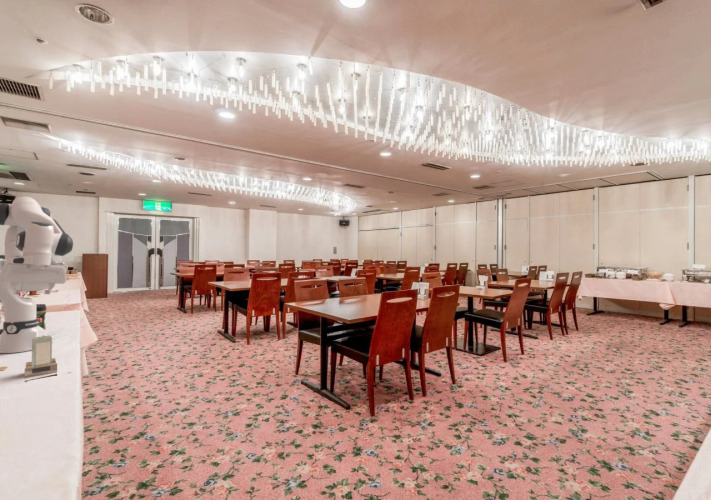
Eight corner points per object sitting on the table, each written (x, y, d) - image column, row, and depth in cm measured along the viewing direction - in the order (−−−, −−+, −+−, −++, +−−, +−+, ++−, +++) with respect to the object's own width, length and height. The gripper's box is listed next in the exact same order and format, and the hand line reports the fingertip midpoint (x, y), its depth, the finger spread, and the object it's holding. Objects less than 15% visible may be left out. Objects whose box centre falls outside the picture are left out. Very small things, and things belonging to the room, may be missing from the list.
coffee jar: (20, 340, 182) (21, 306, 182) (23, 337, 188) (24, 304, 188) (45, 338, 187) (45, 304, 188) (47, 335, 194) (47, 302, 194)
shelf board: (26, 365, 142) (26, 355, 142) (55, 360, 148) (55, 351, 148) (24, 381, 124) (24, 369, 124) (57, 375, 131) (57, 364, 131)
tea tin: (31, 371, 131) (32, 337, 131) (48, 368, 135) (49, 335, 135) (34, 374, 128) (34, 339, 128) (51, 371, 132) (51, 337, 132)
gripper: (66, 262, 151) (62, 293, 150) (0, 258, 135) (-5, 293, 134) (70, 262, 147) (66, 294, 146) (3, 258, 131) (-2, 294, 130)
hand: (32, 294), depth 140 cm, fingers open, 8 cm apart
